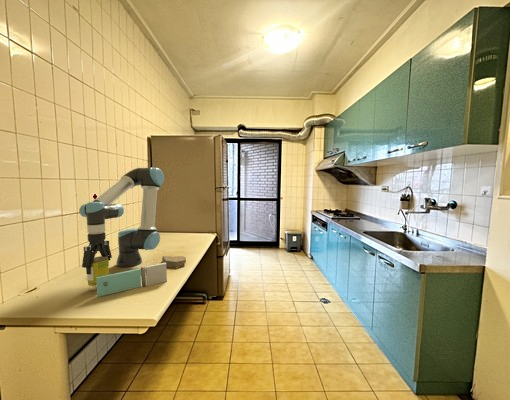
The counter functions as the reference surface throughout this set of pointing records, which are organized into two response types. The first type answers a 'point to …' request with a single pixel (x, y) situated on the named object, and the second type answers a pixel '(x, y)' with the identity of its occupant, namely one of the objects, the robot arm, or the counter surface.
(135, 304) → the counter surface
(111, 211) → the robot arm
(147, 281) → the wall
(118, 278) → the door
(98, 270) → the beverage can
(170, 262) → the stone
